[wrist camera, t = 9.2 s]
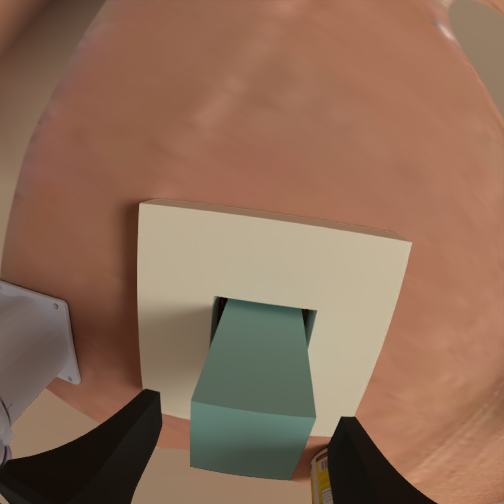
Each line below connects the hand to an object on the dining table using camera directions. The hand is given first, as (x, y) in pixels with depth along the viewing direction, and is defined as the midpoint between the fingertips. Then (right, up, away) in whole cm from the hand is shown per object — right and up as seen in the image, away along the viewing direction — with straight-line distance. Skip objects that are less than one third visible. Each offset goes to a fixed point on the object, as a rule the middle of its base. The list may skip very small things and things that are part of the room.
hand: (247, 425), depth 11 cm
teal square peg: (+1, +3, +8) cm, 9 cm away
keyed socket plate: (+1, +2, +8) cm, 9 cm away
